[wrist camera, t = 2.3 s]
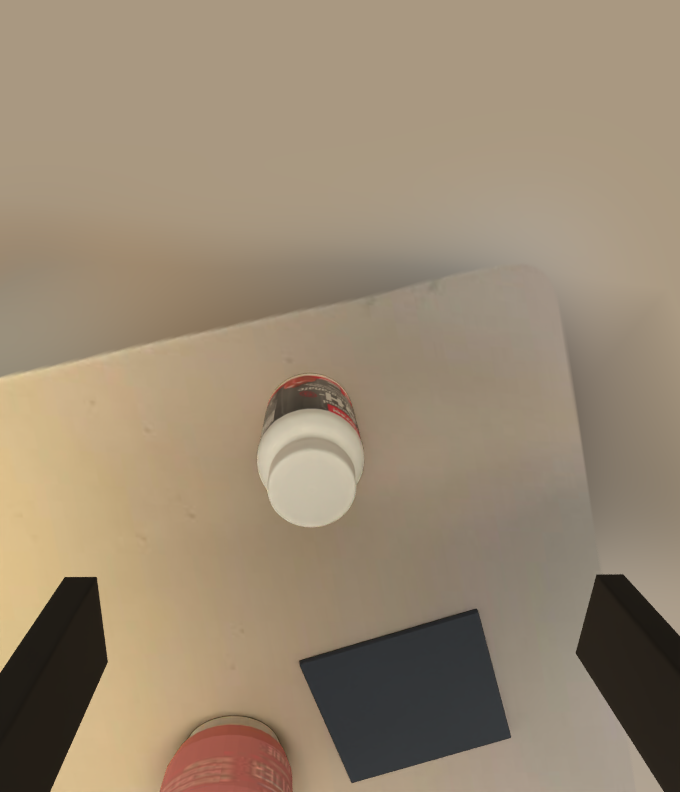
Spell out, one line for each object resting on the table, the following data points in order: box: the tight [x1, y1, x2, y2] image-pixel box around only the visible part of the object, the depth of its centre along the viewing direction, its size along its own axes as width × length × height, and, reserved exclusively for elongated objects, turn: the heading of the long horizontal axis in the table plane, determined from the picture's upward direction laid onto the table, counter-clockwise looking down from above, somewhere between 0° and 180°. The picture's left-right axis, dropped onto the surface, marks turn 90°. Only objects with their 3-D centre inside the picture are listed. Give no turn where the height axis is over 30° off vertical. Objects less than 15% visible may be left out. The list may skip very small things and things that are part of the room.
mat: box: [300, 609, 511, 783], centre depth 40 cm, size 14×14×1 cm
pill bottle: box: [257, 373, 364, 527], centre depth 26 cm, size 5×5×10 cm
